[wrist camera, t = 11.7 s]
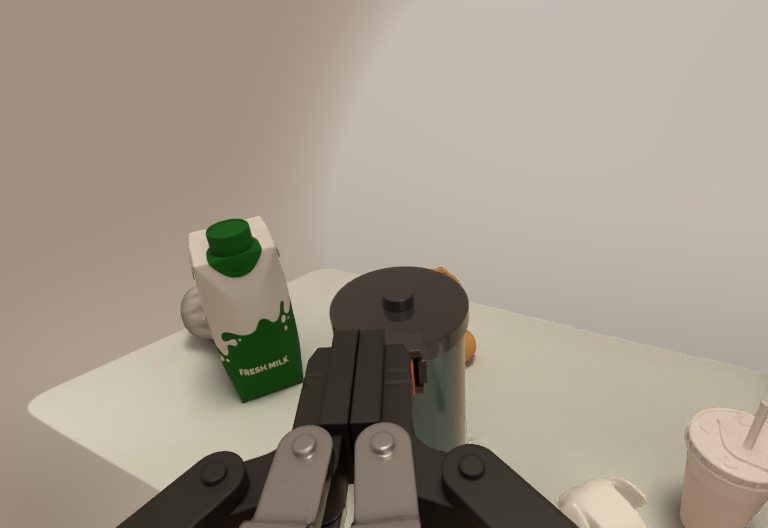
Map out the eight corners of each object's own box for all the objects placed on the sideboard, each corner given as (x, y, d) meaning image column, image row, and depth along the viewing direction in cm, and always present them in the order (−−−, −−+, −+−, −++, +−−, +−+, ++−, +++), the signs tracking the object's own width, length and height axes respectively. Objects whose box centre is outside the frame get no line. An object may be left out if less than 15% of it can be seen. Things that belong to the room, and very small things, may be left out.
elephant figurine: (589, 488, 43) (599, 441, 39) (676, 571, 36) (696, 524, 33) (529, 528, 40) (534, 482, 37) (612, 626, 34) (626, 580, 31)
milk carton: (235, 412, 54) (179, 251, 43) (225, 361, 61) (174, 213, 50) (313, 384, 56) (278, 226, 46) (294, 338, 63) (260, 193, 53)
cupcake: (219, 352, 67) (284, 343, 64) (168, 343, 59) (240, 333, 55) (221, 285, 70) (283, 274, 67) (173, 268, 61) (242, 254, 58)
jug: (362, 392, 54) (339, 242, 45) (459, 388, 54) (457, 235, 44) (350, 524, 42) (314, 355, 32) (477, 521, 41) (480, 347, 31)
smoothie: (693, 572, 36) (749, 445, 29) (644, 492, 42) (681, 369, 34) (777, 557, 37) (853, 428, 29) (717, 480, 42) (769, 356, 35)
